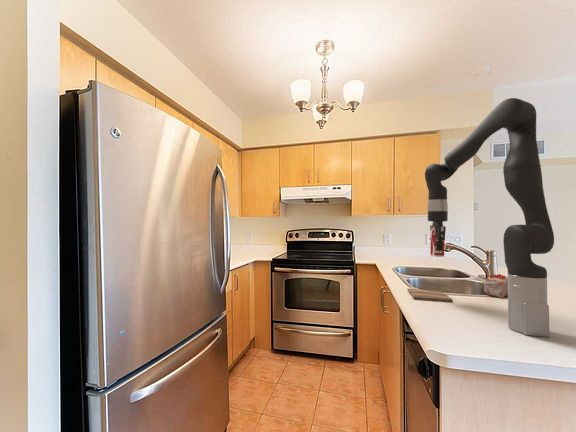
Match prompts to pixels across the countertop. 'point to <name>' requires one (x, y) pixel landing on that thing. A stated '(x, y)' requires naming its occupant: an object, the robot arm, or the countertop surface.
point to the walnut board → (429, 295)
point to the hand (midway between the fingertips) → (437, 249)
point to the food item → (496, 286)
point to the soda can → (433, 246)
